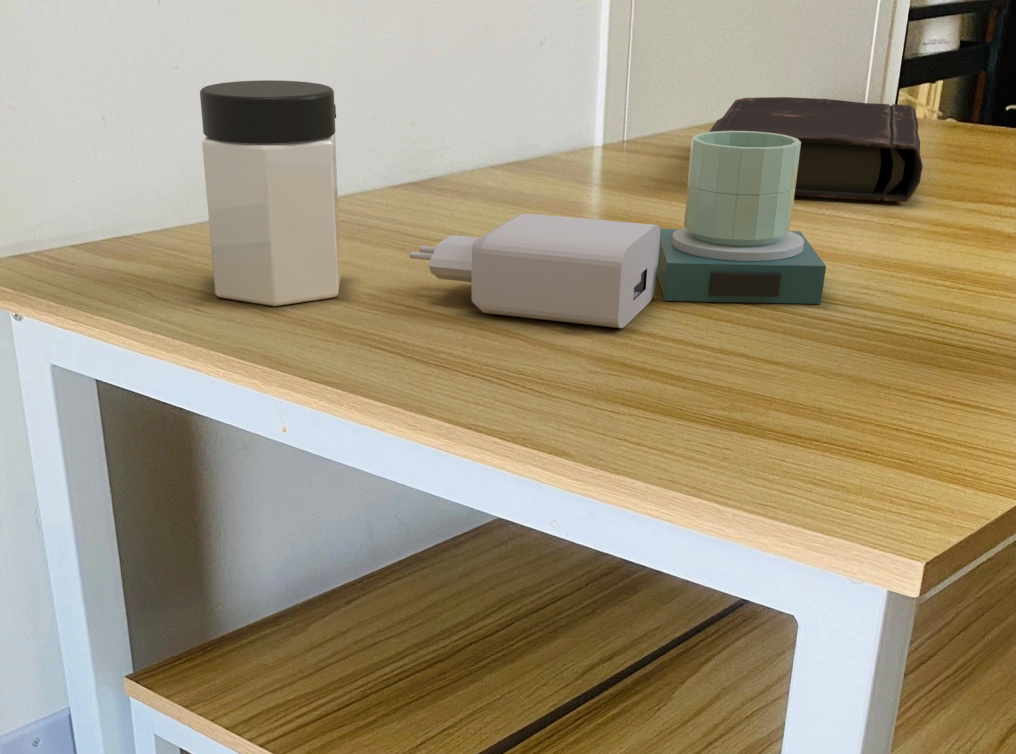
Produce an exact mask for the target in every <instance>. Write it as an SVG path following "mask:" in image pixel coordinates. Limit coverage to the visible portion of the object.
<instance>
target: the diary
mask: <svg viewBox="0 0 1016 754" xmlns="http://www.w3.org/2000/svg"><path fill="white" fill-rule="evenodd" d="M716 131H754V132H767V133H775V134H781V135H787V136H791V137H794V138H797V139H798V140H799V141H800V142H801V147H800V155H799V163H798V171H797V179H796V187H795V195H794V196H796V197H797V196H800V197H817V198H830V199H831V198H833V199H847V200H848V199H849V200H867V201H881V200H883V201H884V202H901V203H908V201H909V200H910V199H911V198H912V197H913V195H914V193H915V192H916V190H917V188H918V187H919V185H920V183H921V179H922V173H923V172H922V171H923V167H924V165H923V161H922V157H921V140H920V136H919V121H918V117H917V112H916V108H915V107H914V105H913V104H893V103H892V104H891V105H890V104H889V103H874V102H861V101H860V102H859V101H849V100H839V99H831V98H815V97H814V98H813V97H812V98H811V97H791V96H782V97H781V96H776V97H775V96H774V97H773V96H772V97H770V96H768V97H765V96H764V97H742V98H737V99H735V100H734V102H732V104H731V105H730V107H729V108H728V110H727V111H726V112H725V114H723V116H722V117H720V118H718V119H716V121H715V123H714V124H713V126H712V127H711V128H710V130H709V131H708V132H716Z"/></svg>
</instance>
